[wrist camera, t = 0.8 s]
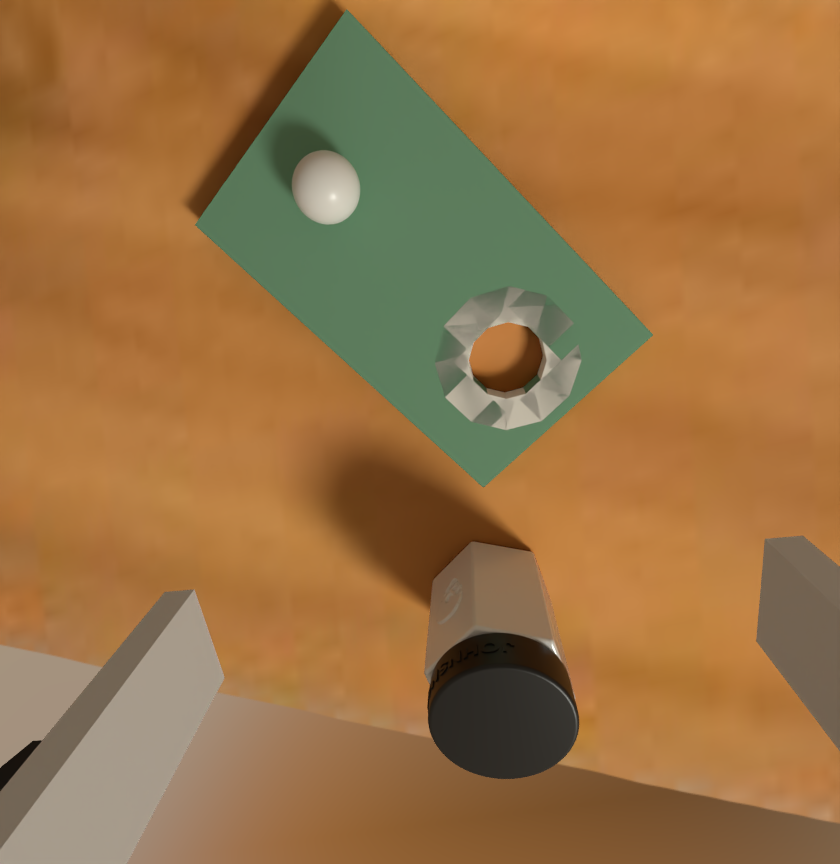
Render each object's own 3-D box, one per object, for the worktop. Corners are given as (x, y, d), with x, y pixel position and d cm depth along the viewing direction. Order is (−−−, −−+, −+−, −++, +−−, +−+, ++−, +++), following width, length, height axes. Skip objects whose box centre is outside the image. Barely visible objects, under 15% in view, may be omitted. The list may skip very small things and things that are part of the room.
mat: (207, 226, 32) (194, 224, 31) (352, 22, 28) (346, 9, 27) (482, 477, 36) (483, 487, 35) (644, 331, 32) (653, 334, 31)
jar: (489, 517, 37) (501, 633, 26) (573, 582, 39) (618, 719, 27) (411, 595, 40) (391, 731, 29) (492, 654, 41) (503, 806, 30)
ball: (290, 194, 30) (268, 186, 26) (330, 141, 29) (312, 126, 25) (338, 239, 30) (322, 238, 27) (378, 189, 29) (367, 181, 26)
